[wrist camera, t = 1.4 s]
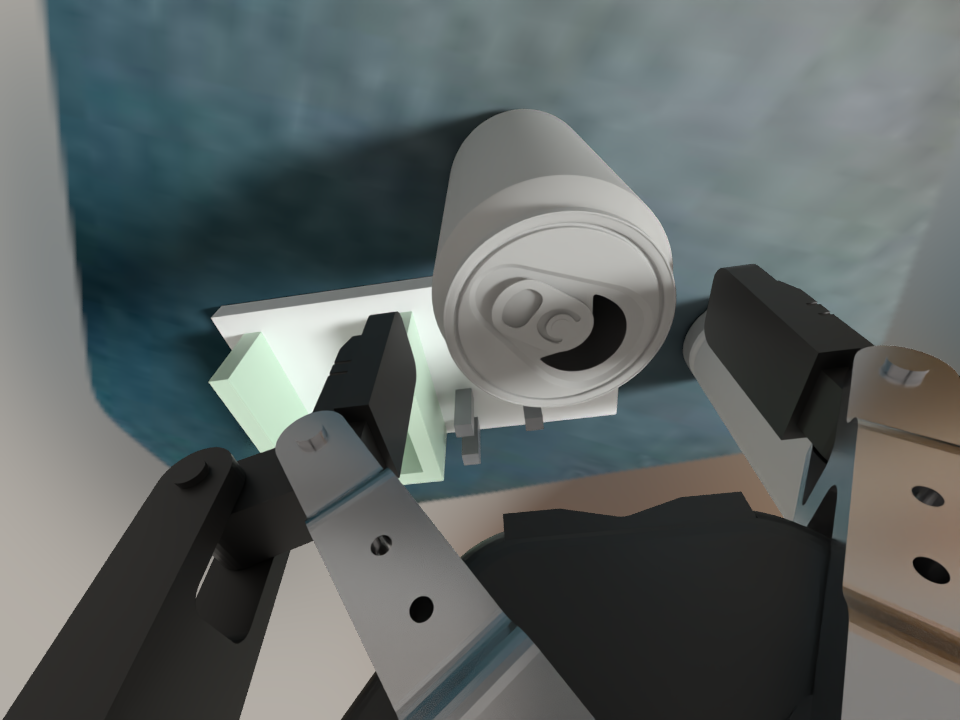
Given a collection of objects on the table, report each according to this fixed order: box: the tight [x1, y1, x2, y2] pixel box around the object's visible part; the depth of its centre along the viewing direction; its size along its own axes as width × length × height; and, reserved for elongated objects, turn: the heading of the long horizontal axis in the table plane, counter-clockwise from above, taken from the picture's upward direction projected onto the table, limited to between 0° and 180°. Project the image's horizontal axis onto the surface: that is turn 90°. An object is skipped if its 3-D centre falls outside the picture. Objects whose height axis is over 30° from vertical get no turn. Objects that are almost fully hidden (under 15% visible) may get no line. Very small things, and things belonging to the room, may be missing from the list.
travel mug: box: [683, 310, 811, 521], centre depth 17 cm, size 6×7×20 cm
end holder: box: [209, 311, 447, 485], centre depth 24 cm, size 10×10×4 cm
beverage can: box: [432, 109, 676, 408], centre depth 15 cm, size 6×6×12 cm
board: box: [211, 276, 618, 465], centre depth 24 cm, size 11×22×4 cm, turn 98°
